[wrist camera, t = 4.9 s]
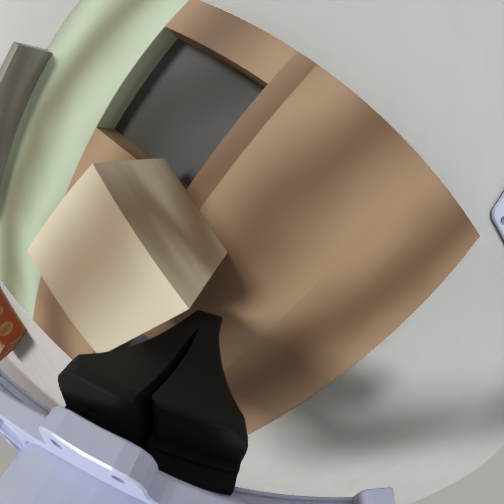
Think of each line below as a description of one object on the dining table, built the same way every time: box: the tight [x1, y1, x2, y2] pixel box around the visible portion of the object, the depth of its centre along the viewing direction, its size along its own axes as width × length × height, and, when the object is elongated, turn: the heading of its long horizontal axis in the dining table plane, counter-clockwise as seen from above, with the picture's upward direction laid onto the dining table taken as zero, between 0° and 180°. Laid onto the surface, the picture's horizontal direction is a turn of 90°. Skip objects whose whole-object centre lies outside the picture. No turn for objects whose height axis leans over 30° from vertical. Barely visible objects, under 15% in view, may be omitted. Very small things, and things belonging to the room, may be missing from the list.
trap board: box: [0, 0, 480, 435], centre depth 13 cm, size 26×24×5 cm
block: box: [27, 158, 227, 353], centre depth 10 cm, size 5×5×5 cm
